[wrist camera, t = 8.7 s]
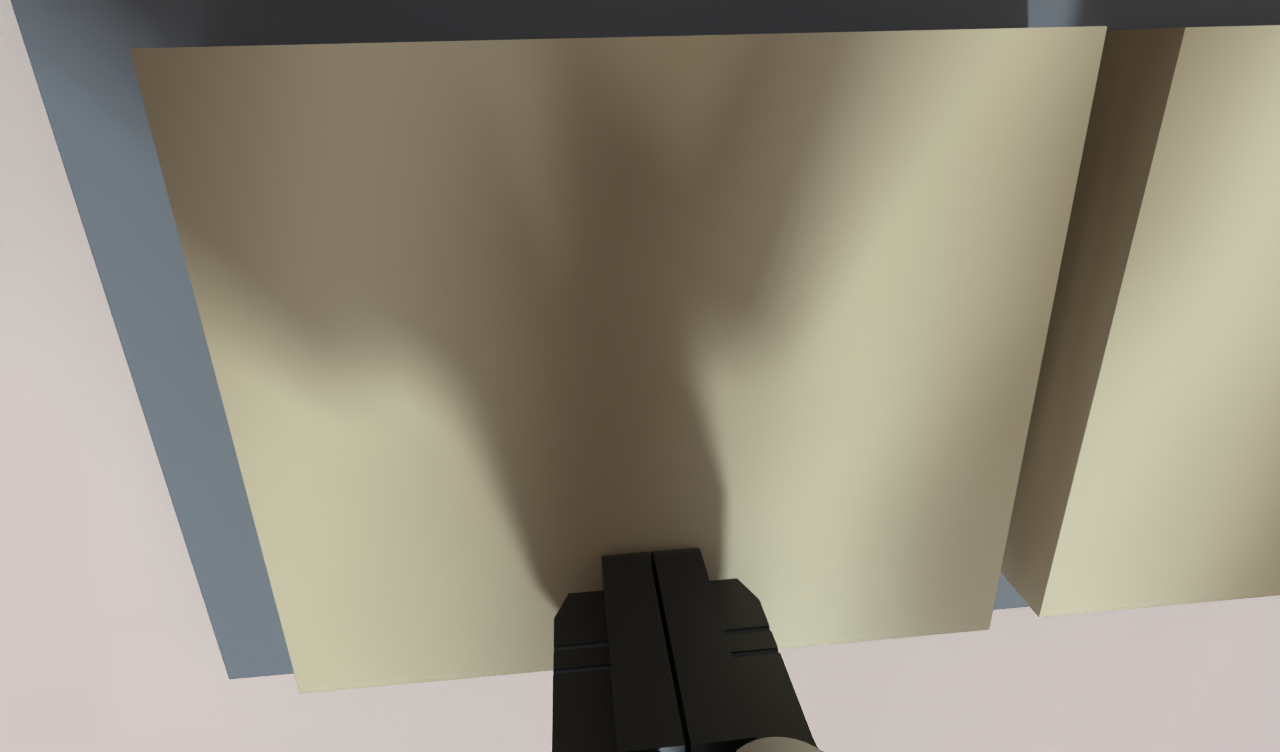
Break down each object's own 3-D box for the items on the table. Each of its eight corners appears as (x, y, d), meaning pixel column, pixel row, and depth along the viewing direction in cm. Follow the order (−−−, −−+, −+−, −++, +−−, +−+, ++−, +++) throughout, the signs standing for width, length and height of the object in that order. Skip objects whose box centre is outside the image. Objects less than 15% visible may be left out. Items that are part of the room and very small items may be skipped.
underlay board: (2276, -1026, 8) (2490, -1161, 7) (1478, 532, 16) (1533, 560, 15) (-338, -1332, 6) (-502, -1586, 5) (251, 638, 14) (229, 679, 13)
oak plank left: (1032, 32, 10) (1107, 26, 9) (945, 572, 14) (988, 629, 12) (194, 52, 9) (128, 48, 8) (328, 625, 13) (299, 693, 11)
